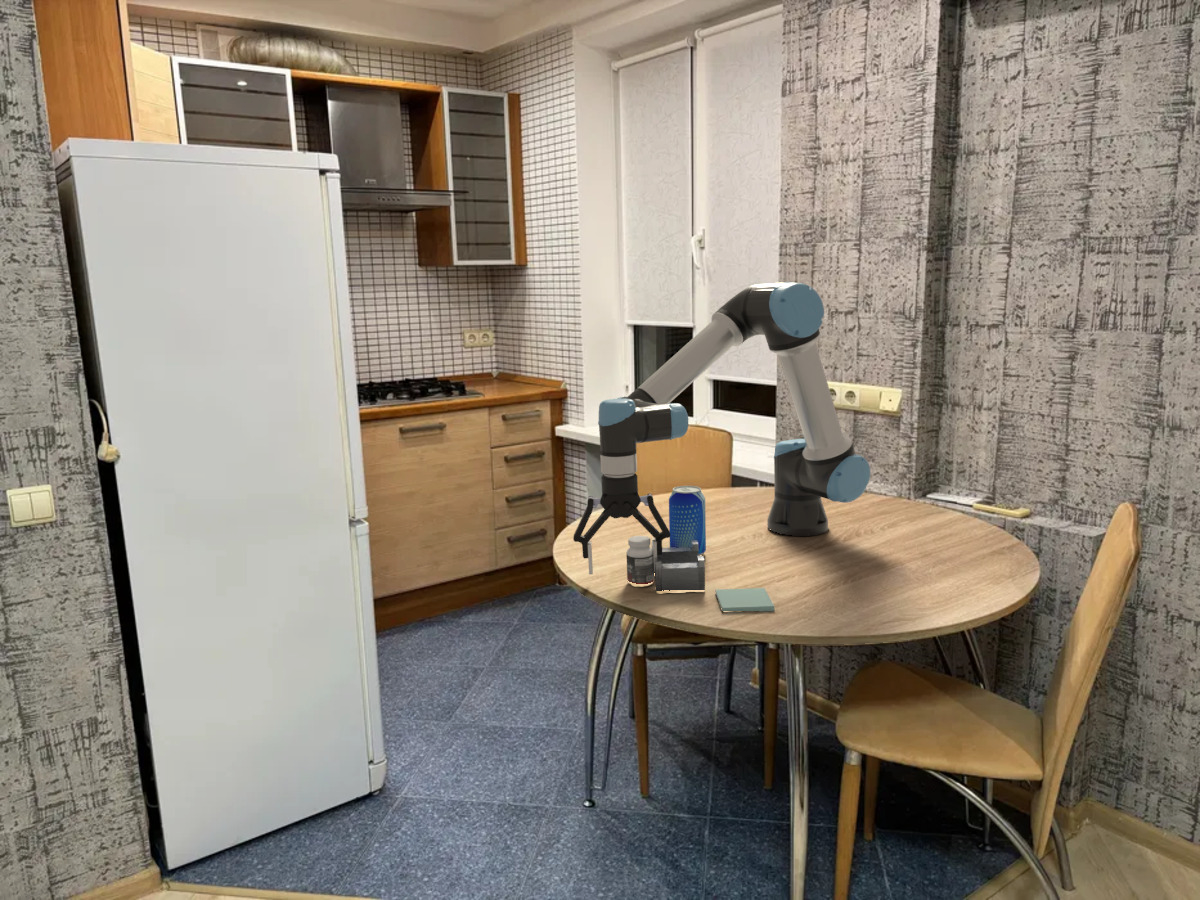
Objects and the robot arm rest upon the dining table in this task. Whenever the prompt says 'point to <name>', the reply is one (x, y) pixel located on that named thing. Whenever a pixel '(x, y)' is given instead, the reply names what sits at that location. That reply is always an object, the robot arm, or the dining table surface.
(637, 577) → the pill bottle
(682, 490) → the beer can
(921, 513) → the dining table surface
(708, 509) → the dining table surface
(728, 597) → the coaster
